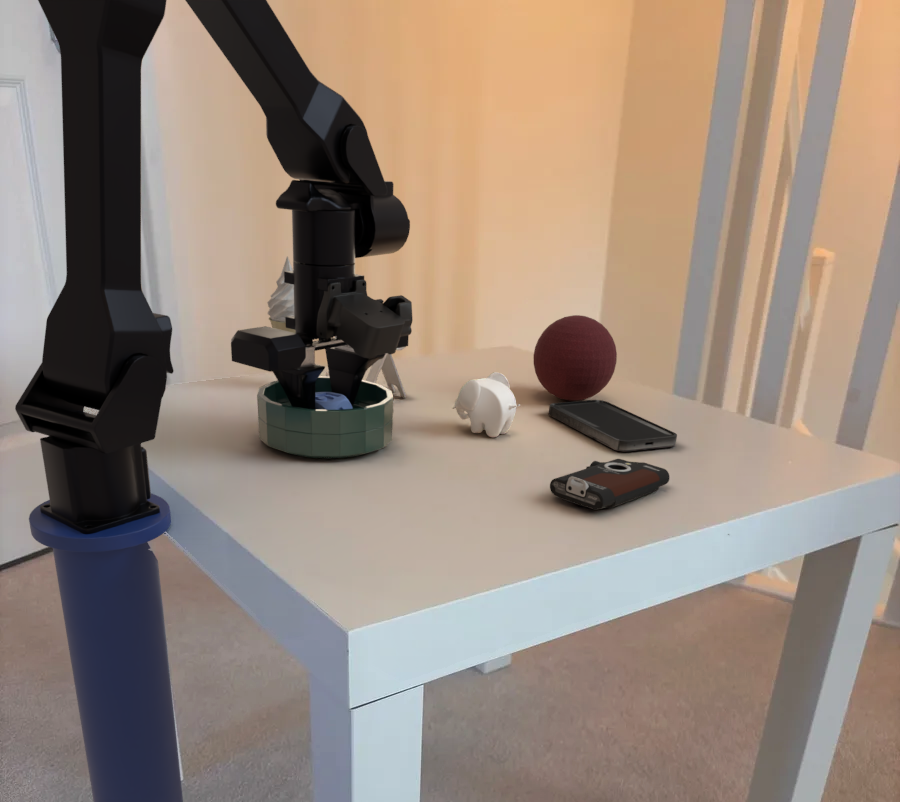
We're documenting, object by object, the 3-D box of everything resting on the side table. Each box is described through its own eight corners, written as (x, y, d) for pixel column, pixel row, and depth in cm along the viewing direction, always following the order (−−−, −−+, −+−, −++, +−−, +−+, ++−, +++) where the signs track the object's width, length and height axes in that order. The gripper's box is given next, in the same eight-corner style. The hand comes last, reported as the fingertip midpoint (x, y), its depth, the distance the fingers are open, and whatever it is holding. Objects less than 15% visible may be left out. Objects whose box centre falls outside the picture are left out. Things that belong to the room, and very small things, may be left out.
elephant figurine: (471, 418, 103) (474, 365, 100) (532, 432, 99) (538, 378, 96) (436, 430, 98) (439, 375, 95) (500, 446, 94) (505, 389, 91)
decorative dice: (354, 434, 93) (354, 395, 91) (332, 444, 90) (331, 404, 88) (321, 427, 94) (320, 389, 93) (298, 437, 91) (297, 397, 89)
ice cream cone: (266, 383, 112) (260, 253, 105) (306, 380, 114) (303, 253, 107) (277, 393, 107) (272, 259, 101) (318, 391, 110) (316, 259, 103)
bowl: (325, 472, 84) (325, 419, 82) (232, 440, 91) (229, 390, 89) (418, 442, 94) (419, 394, 91) (326, 415, 101) (326, 370, 98)
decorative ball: (603, 415, 107) (615, 327, 102) (521, 403, 109) (528, 318, 105) (616, 395, 115) (627, 313, 111) (539, 385, 118) (547, 305, 113)
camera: (543, 470, 80) (613, 448, 88) (542, 500, 81) (611, 476, 89) (603, 483, 76) (672, 460, 84) (601, 515, 77) (668, 489, 85)
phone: (601, 399, 108) (681, 435, 96) (600, 408, 109) (679, 445, 97) (544, 403, 105) (620, 442, 93) (543, 413, 105) (618, 452, 94)
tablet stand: (324, 389, 110) (324, 318, 106) (384, 385, 114) (385, 316, 110) (352, 408, 103) (352, 333, 100) (414, 403, 107) (417, 330, 103)
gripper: (311, 281, 73) (314, 466, 81) (454, 266, 87) (446, 426, 94) (222, 264, 79) (232, 438, 87) (368, 252, 93) (366, 403, 100)
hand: (325, 426), depth 92 cm, fingers closed on decorative dice, 4 cm apart
